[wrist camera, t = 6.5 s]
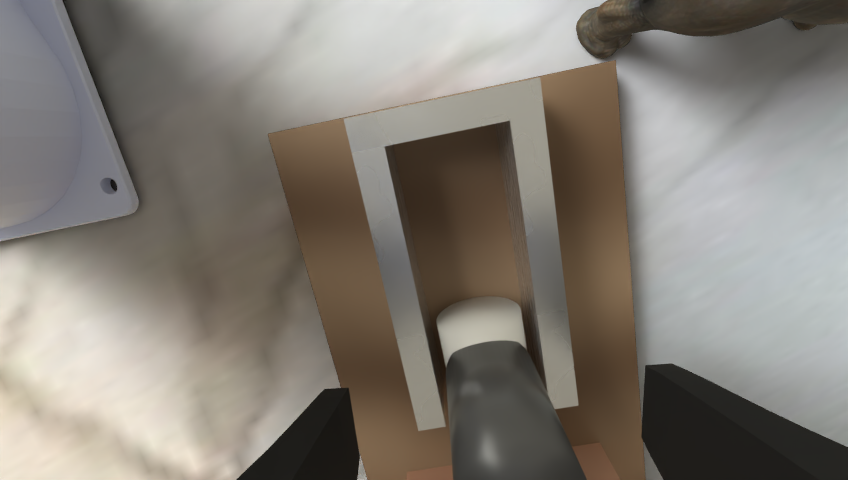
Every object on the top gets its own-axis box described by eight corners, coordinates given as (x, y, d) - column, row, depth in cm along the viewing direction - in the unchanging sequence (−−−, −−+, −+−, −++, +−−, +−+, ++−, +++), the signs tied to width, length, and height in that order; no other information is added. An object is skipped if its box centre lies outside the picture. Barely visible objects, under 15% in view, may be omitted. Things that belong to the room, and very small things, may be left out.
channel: (359, 121, 11) (343, 118, 9) (518, 88, 11) (540, 77, 9) (420, 384, 14) (418, 431, 11) (554, 362, 13) (578, 405, 11)
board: (280, 134, 12) (267, 133, 12) (600, 66, 12) (615, 60, 11) (398, 552, 17) (395, 578, 16) (636, 519, 16) (650, 543, 15)
